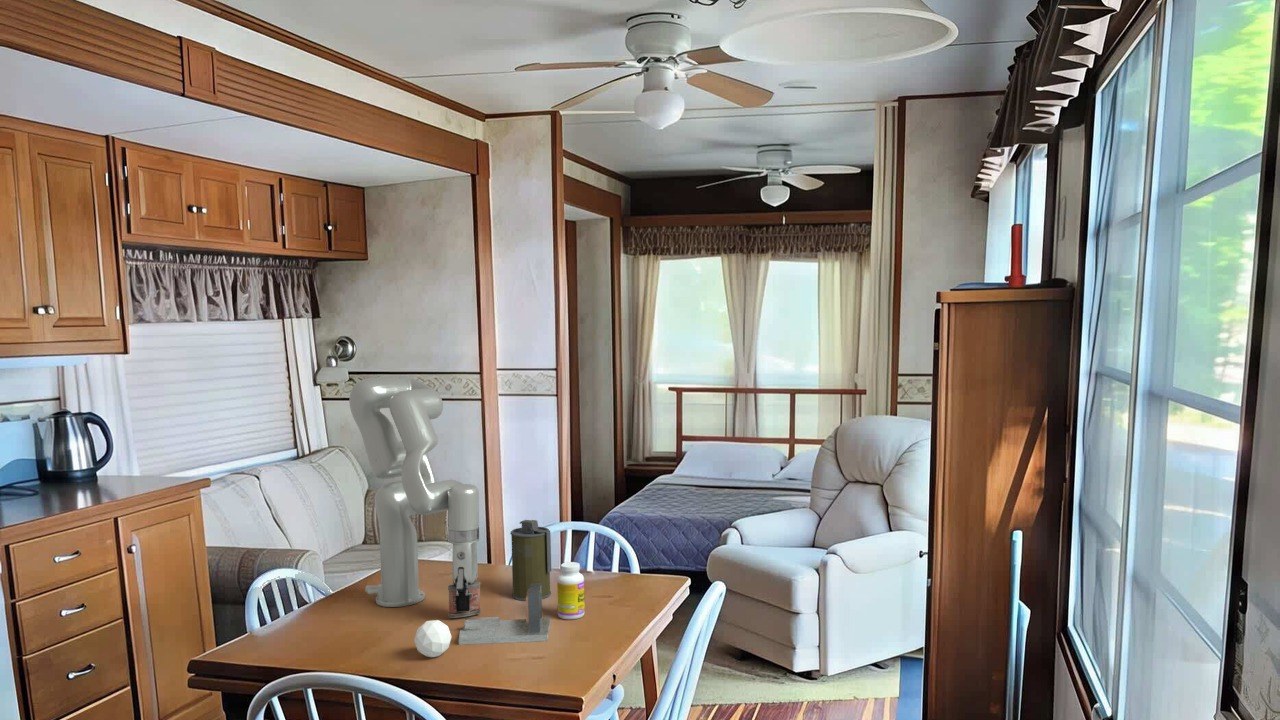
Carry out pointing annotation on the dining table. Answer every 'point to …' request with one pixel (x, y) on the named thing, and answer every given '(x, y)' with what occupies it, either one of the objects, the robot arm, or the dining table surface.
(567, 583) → the supplement bottle
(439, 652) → the geometric ball
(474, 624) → the finger rail
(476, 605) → the lighter
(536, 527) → the canister
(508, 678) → the dining table surface
